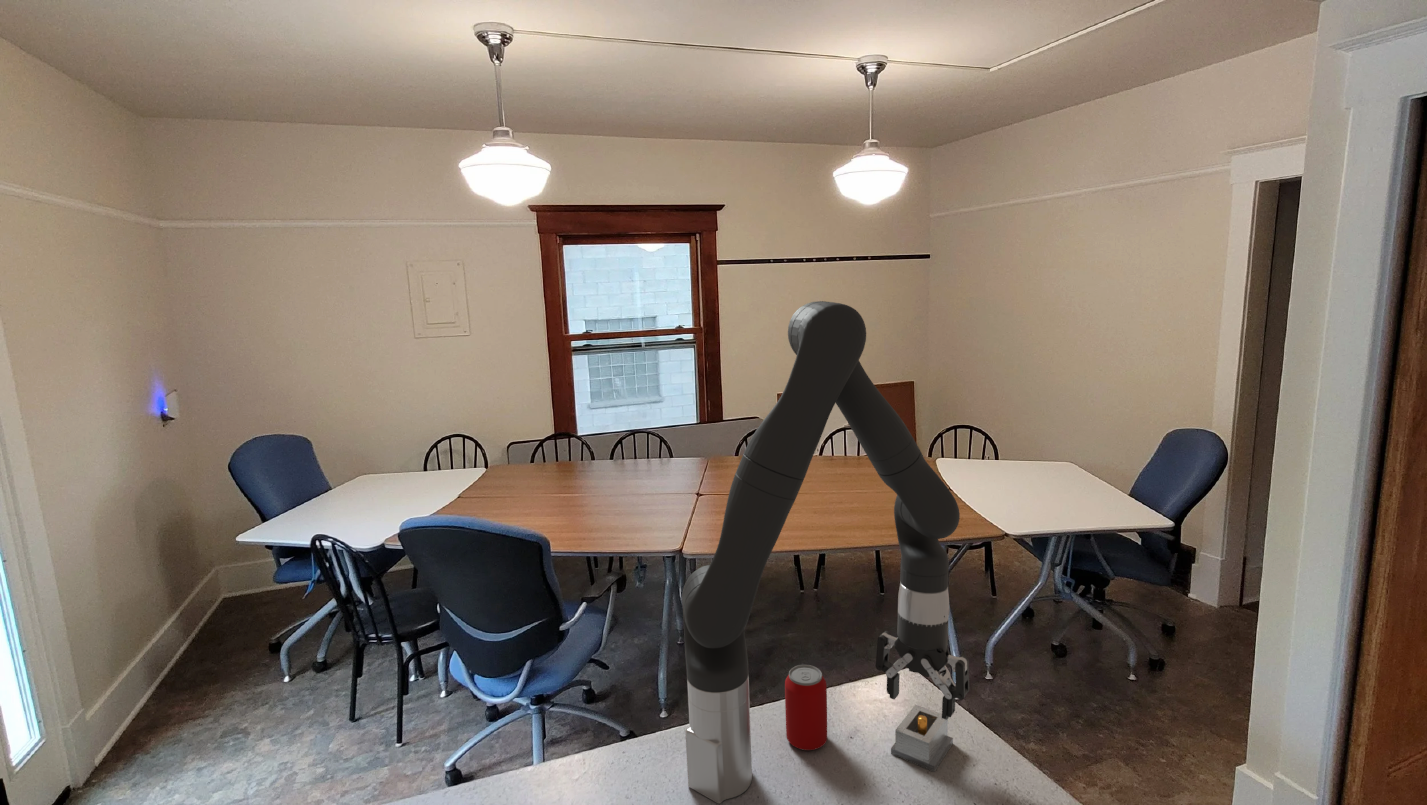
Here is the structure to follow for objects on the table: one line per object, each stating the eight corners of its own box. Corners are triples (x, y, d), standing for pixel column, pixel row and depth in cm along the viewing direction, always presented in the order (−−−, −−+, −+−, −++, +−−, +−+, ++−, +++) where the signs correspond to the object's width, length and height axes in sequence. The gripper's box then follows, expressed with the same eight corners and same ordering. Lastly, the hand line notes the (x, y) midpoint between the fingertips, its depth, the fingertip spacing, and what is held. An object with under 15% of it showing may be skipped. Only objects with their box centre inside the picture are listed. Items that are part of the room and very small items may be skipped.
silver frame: (928, 763, 102) (929, 743, 102) (895, 749, 106) (895, 729, 105) (947, 735, 108) (947, 716, 108) (915, 723, 112) (915, 704, 111)
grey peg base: (934, 772, 102) (934, 740, 101) (891, 753, 106) (891, 722, 105) (952, 743, 108) (953, 713, 107) (911, 727, 112) (911, 698, 111)
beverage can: (826, 727, 113) (825, 662, 111) (829, 755, 107) (827, 686, 105) (786, 726, 114) (784, 662, 112) (786, 753, 107) (784, 685, 105)
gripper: (869, 607, 105) (867, 701, 108) (961, 634, 96) (956, 736, 99) (889, 590, 111) (887, 680, 113) (977, 614, 102) (973, 711, 104)
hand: (919, 706), depth 106 cm, fingers open, 8 cm apart
